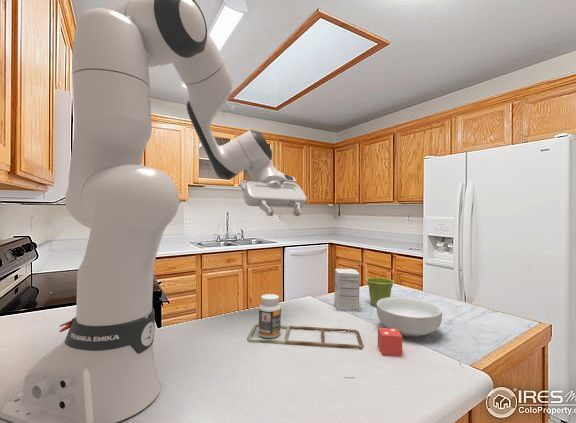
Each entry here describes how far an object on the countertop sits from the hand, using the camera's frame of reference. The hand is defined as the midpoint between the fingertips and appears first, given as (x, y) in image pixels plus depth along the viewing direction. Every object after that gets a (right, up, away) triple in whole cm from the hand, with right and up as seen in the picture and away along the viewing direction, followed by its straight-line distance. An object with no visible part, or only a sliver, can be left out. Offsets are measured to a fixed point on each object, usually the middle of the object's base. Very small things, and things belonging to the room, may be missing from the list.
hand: (285, 214), depth 83 cm
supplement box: (+21, -32, +15) cm, 41 cm away
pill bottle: (-4, -31, -7) cm, 33 cm away
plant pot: (+33, -32, +19) cm, 50 cm away
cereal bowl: (+34, -32, -3) cm, 47 cm away
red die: (+25, -32, -15) cm, 43 cm away
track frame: (+5, -31, -8) cm, 33 cm away
